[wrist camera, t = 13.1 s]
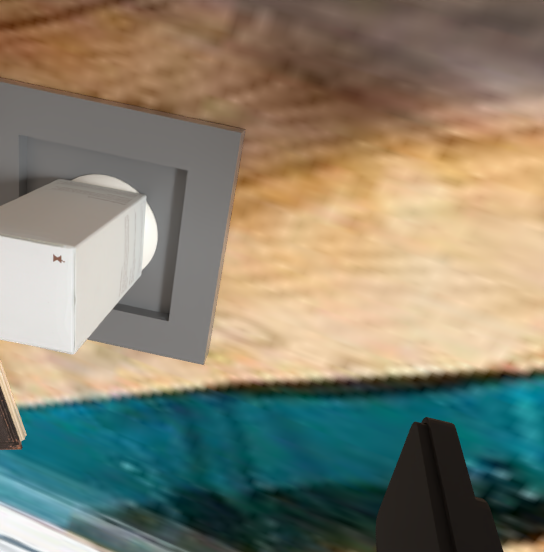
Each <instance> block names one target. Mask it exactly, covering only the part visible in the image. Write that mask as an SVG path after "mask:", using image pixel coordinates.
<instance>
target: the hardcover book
mask: <svg viewBox="0 0 544 552" xmlns="http://www.w3.org/2000/svg"><path fill="white" fill-rule="evenodd" d="M25 436H27V434H26V431H25V429H24V426H23V423H22V420H21V417H20V414H19V411H18V409H17V406H16V403H15V400H14V397H13V394H12V391H11V388H10V386H9V383H8V380H7V377H6V374H5V371H4V368H3V365H2V363H1V360H0V450H10V449H22V448H23V447H22V445H21V441H22V440H24V439H25Z"/></svg>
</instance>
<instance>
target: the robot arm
mask: <svg viewBox="0 0 544 552" xmlns="http://www.w3.org/2000/svg"><path fill="white" fill-rule="evenodd" d="M376 546H377V552H503V549H502V546H501V543H500V539H499V536H498V533H497V530H496V526H495V523H494V520H493V517H492V513H491V510H490V508H489V505H488V503H487V502H486V501H485V500H484V499H481V498H477V497H475V495H474V492H473V488H472V485H471V481H470V478H469V474H468V470H467V467H466V463H465V460H464V456H463V452H462V449H461V445H460V442H459V438H458V435H457V431H456V428H455V425H454V424H452V423H449V422H445V421H440V420H436V419H432V418H428V417H426V418H424V419H423V420H422V422H421V423H418V422H414V423H413V424H412V426H411V428H410V431H409V434H408V436H407V439H406V441H405V444H404V447H403V449H402V452H401V454H400V457H399V460H398V462H397V465H396V468H395V470H394V473H393V475H392V478H391V481H390V483H389V486H388V488H387V491H386V494H385V496H384V499H383V502H382V504H381V507H380V509H379V512H378V516H377V521H376Z"/></svg>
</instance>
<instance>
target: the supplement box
mask: <svg viewBox="0 0 544 552" xmlns="http://www.w3.org/2000/svg"><path fill="white" fill-rule="evenodd" d="M146 198H147V196H146V195H144V194H139V193H134V192H128V191H123V190H118V189H113V188H107V187H102V186H97V185H91V184H86V183H80V182H75V181H70V180H64V179H57V180H55V181H53V182H51V183H49V184H47V185H44V186H42V187H40V188H38V189H36V190H34V191H32V192H30V193H28V194H25V195H23V196H21V197H19V198H17V199H15V200H13V201H10V202H8V203H6V204H4V205H2V206H0V340H5V341H10V342H15V343H21V344H26V345H31V346H36V347H40V348H45V349H49V350H54V351H59V352H63V353H68V354H75V353H76V351H77V350H78V349H79V348H80V347H81V346H82V344H83V343H84V342H85V341H86V340H87V338H88V337H89V336H90V335H91V334H92V333H93V331H94V330H95V329H96V328H97V327H98V325H99V324H100V323H101V322H102V321H103V320H104V318H105V317H106V316H107V315H108V314H109V313H110V311H111V310H112V309H113V308H114V307H115V305H116V304H117V303H118V302H119V301H120V299H121V298H122V297H123V296H124V295H125V293H126V292H127V291H128V290H129V289H130V288H131V287H132V285H133V284H134V283H135V282H136V281H137V279H138V278H139V277H140V276H141V272H142V260H143V245H144V229H145V212H146Z"/></svg>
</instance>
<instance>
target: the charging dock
mask: <svg viewBox="0 0 544 552" xmlns="http://www.w3.org/2000/svg"><path fill="white" fill-rule="evenodd" d="M245 130H246V129H241V128H236V127H231V126H227V125H222V124H217V123H213V122H208V121H203V120H198V119H194V118H189V117H184V116H180V115H175V114H170V113H165V112H161V111H156V110H151V109H147V108H142V107H137V106H132V105H128V104H123V103H118V102H114V101H109V100H104V99H99V98H95V97H90V96H85V95H81V94H76V93H71V92H66V91H62V90H57V89H52V88H47V87H43V86H38V85H33V84H29V83H24V82H19V81H14V80H10V79H5V78H0V206H2V205H4V204H6V203H8V202H10V201H13V200H15V199H17V198H19V197H21V196H23V195H25V194H28V193H30V192H32V191H34V190H36V189H38V188H40V187H42V186H44V185H47V184H49V183H51V182H53V181H55V180H57V179H64V180H70V181H75V182H80V183H86V184H91V185H97V186H102V187H107V188H113V189H118V190H123V191H128V192H134V193H139V194H144V195H146V196H147V198H146V212H145V229H144V245H143V260H142V272H141V276H140V277H139V278H138V279H137V281H136V282H135V283H134V284H133V285H132V287H131V288H130V289H129V290H128V291H127V292H126V293H125V295H124V296H123V297H122V298H121V299H120V301H119V302H118V303H117V304H116V305H115V307H114V308H113V309H112V310H111V311H110V313H109V314H108V315H107V316H106V317H105V318H104V320H103V321H102V322H101V323H100V324H99V325H98V327H97V328H96V329H95V330H94V331H93V333H92V334H91V335H90V336H89V337H88V338H87V339H88V340H92V341H97V342H101V343H106V344H111V345H115V346H120V347H124V348H129V349H133V350H138V351H142V352H147V353H152V354H156V355H161V356H165V357H170V358H174V359H179V360H184V361H188V362H193V363H197V364H202V365H204V362H205V360H206V357H207V355H208V352H209V346H210V340H211V334H212V328H213V322H214V316H215V310H216V304H217V298H218V292H219V286H220V280H221V274H222V268H223V262H224V256H225V250H226V244H227V238H228V232H229V226H230V220H231V214H232V208H233V202H234V196H235V190H236V184H237V178H238V172H239V166H240V160H241V154H242V148H243V142H244V136H245Z"/></svg>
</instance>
